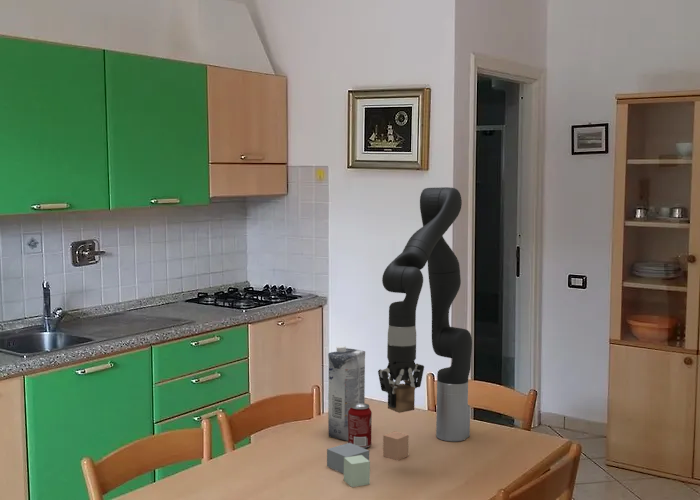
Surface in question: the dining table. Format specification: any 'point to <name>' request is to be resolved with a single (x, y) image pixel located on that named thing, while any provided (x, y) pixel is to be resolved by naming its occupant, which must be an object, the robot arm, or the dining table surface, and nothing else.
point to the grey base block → (343, 455)
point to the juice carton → (344, 388)
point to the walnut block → (404, 398)
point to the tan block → (395, 445)
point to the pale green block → (356, 471)
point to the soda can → (359, 425)
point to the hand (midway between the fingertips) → (400, 405)
